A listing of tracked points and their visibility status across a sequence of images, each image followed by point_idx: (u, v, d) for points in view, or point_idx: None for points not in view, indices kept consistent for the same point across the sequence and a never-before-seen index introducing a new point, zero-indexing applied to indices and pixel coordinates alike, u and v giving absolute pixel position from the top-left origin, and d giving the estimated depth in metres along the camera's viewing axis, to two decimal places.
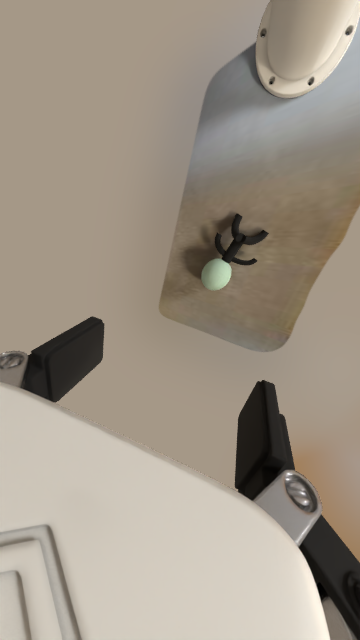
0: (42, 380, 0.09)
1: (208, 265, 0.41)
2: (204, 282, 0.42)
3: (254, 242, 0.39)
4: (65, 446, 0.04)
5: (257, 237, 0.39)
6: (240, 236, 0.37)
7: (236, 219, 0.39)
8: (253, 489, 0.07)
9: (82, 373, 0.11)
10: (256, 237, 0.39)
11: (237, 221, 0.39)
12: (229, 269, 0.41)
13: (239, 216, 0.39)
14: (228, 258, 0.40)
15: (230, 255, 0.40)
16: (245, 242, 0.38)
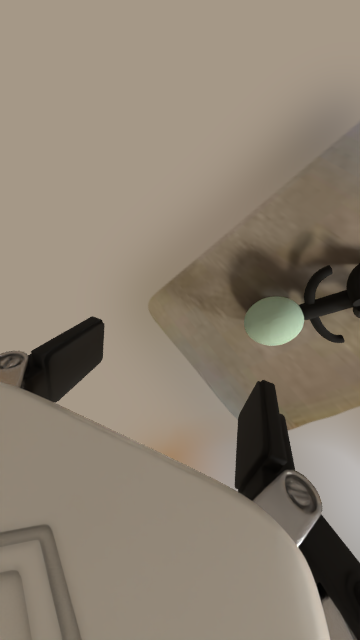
0: (43, 380, 0.09)
1: (277, 306, 0.23)
2: (251, 324, 0.24)
3: None
4: (65, 446, 0.04)
5: None
6: None
7: None
8: (253, 489, 0.07)
9: (82, 373, 0.11)
10: None
11: None
12: None
13: None
14: (312, 315, 0.23)
15: (319, 313, 0.22)
16: None
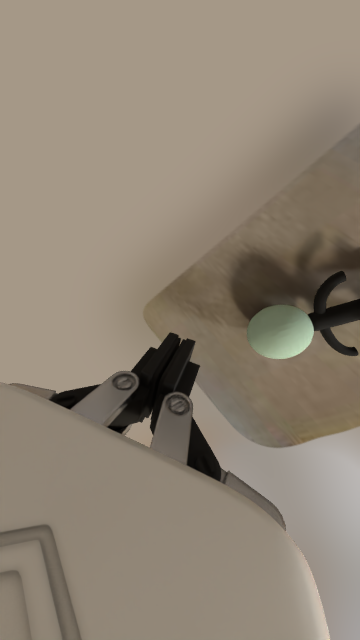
0: (146, 398, 0.09)
1: (284, 316, 0.20)
2: (255, 336, 0.22)
3: None
4: (65, 446, 0.04)
5: None
6: None
7: None
8: None
9: None
10: None
11: None
12: None
13: None
14: (323, 326, 0.20)
15: (331, 324, 0.20)
16: None
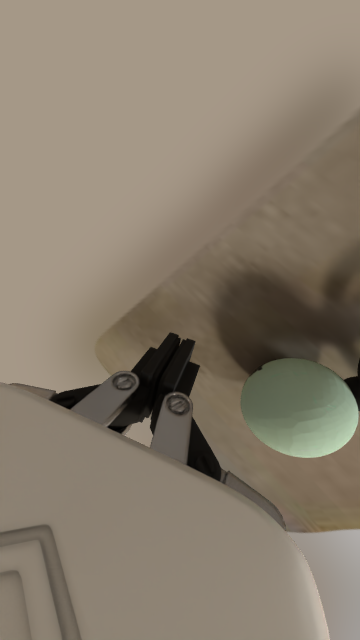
0: (146, 398, 0.09)
1: (307, 391, 0.11)
2: (255, 418, 0.12)
3: None
4: (65, 446, 0.04)
5: None
6: None
7: None
8: None
9: None
10: None
11: None
12: None
13: None
14: None
15: None
16: None
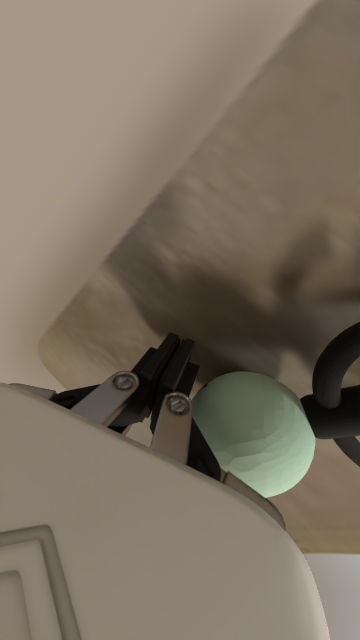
0: (146, 398, 0.09)
1: (246, 417, 0.09)
2: None
3: None
4: (65, 446, 0.04)
5: None
6: None
7: None
8: None
9: None
10: None
11: None
12: None
13: None
14: (336, 435, 0.09)
15: (354, 433, 0.09)
16: None
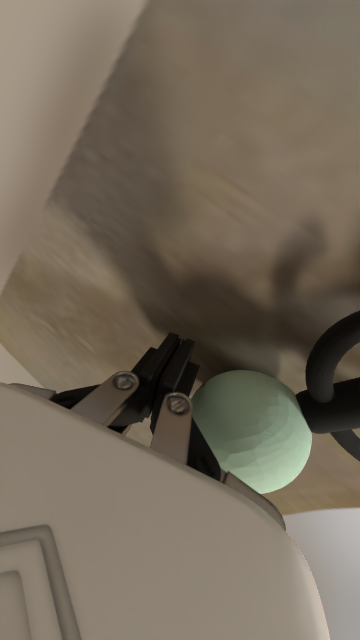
0: (146, 398, 0.09)
1: (241, 414, 0.09)
2: None
3: None
4: (65, 446, 0.04)
5: None
6: None
7: None
8: None
9: None
10: None
11: None
12: None
13: None
14: (332, 429, 0.09)
15: (349, 427, 0.09)
16: None
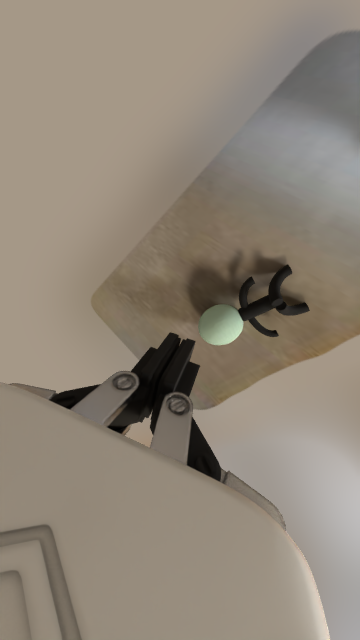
0: (146, 398, 0.09)
1: (218, 312, 0.28)
2: (201, 329, 0.29)
3: (289, 314, 0.28)
4: (65, 446, 0.04)
5: (295, 310, 0.28)
6: (280, 301, 0.25)
7: (284, 272, 0.27)
8: None
9: None
10: (294, 309, 0.28)
11: (283, 275, 0.27)
12: (241, 329, 0.29)
13: (289, 271, 0.27)
14: (247, 316, 0.28)
15: (252, 314, 0.28)
16: (280, 311, 0.26)
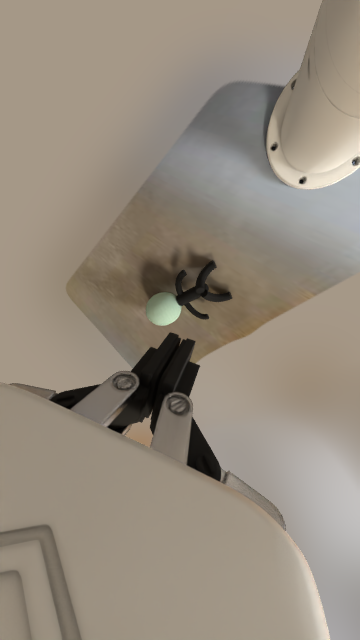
0: (146, 398, 0.09)
1: (158, 298, 0.35)
2: (146, 312, 0.36)
3: (214, 300, 0.34)
4: (65, 446, 0.04)
5: (219, 297, 0.34)
6: (202, 290, 0.32)
7: (209, 266, 0.33)
8: None
9: None
10: (218, 296, 0.34)
11: (208, 269, 0.33)
12: (178, 312, 0.36)
13: (213, 265, 0.33)
14: (181, 302, 0.35)
15: (185, 300, 0.35)
16: (204, 298, 0.33)
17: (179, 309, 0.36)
